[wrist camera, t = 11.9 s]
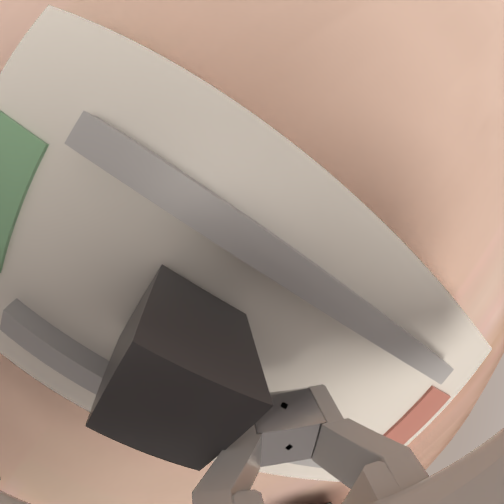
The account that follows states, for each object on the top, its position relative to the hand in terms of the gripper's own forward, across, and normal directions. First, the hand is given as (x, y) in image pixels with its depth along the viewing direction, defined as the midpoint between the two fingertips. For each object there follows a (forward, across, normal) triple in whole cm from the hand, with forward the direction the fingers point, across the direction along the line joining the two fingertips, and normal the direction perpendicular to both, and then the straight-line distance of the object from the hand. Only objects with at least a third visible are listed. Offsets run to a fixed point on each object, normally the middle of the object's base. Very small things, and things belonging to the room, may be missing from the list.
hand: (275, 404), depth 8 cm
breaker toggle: (+2, +3, -2) cm, 4 cm away
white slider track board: (+7, 0, 0) cm, 7 cm away
